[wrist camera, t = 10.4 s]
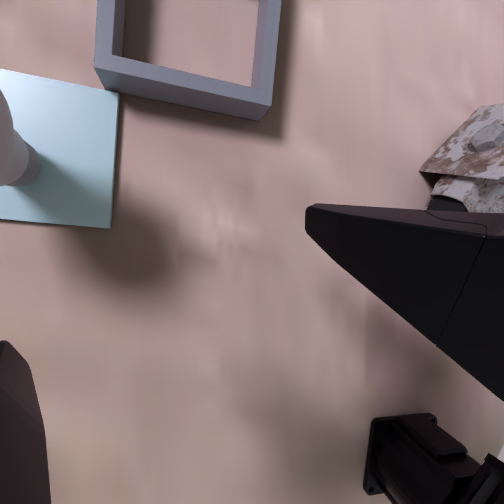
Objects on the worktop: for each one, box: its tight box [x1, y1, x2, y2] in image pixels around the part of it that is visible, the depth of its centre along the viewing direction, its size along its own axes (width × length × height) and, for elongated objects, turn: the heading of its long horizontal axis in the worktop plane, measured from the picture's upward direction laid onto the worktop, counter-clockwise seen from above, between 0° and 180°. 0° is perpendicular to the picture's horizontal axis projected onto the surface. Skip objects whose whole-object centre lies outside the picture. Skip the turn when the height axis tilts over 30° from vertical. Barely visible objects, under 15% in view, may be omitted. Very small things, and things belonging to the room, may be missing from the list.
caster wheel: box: [419, 104, 504, 213], centre depth 22 cm, size 7×11×10 cm
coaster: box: [0, 69, 120, 229], centre depth 16 cm, size 8×8×1 cm
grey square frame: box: [94, 0, 282, 121], centre depth 17 cm, size 10×10×2 cm
